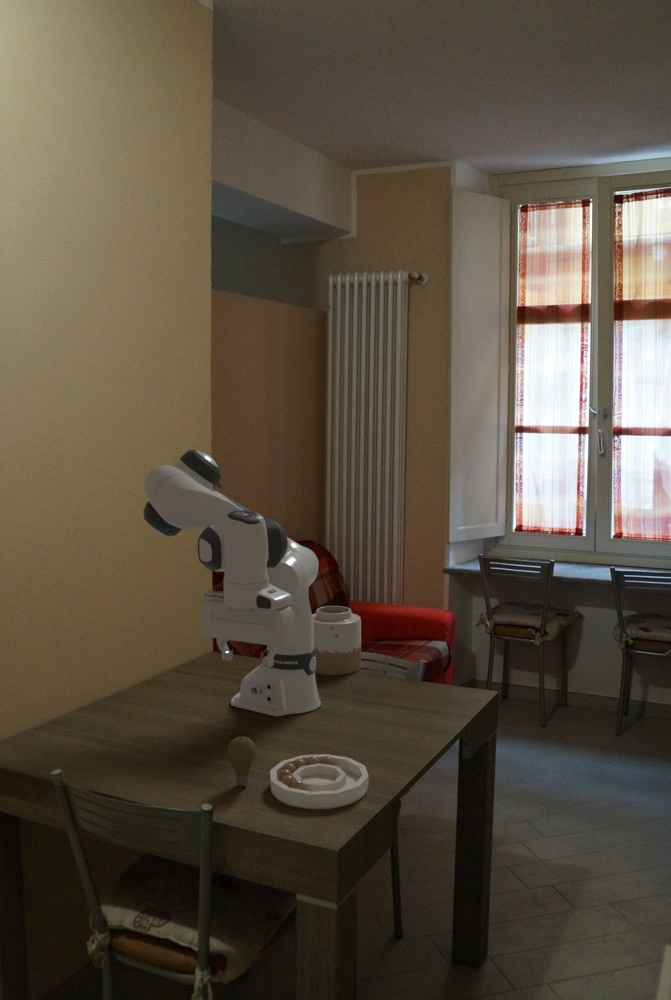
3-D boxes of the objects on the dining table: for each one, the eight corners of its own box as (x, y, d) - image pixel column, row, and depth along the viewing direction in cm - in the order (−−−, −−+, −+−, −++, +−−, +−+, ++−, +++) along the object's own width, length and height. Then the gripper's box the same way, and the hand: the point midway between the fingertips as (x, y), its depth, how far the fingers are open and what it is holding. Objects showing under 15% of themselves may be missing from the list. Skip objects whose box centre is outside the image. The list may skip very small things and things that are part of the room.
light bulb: (228, 780, 189) (227, 732, 188) (256, 779, 189) (255, 731, 188) (227, 792, 183) (226, 743, 182) (256, 791, 184) (255, 741, 182)
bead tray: (253, 798, 180) (253, 780, 180) (296, 762, 197) (296, 745, 197) (344, 816, 173) (344, 796, 172) (381, 777, 190) (381, 759, 189)
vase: (302, 674, 259) (301, 615, 257) (312, 658, 274) (312, 602, 272) (356, 677, 256) (356, 617, 254) (364, 661, 271) (364, 604, 269)
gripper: (193, 592, 185) (194, 660, 187) (283, 602, 176) (283, 674, 178) (211, 586, 191) (212, 652, 192) (299, 596, 182) (299, 665, 183)
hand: (247, 663), depth 185 cm, fingers open, 8 cm apart
